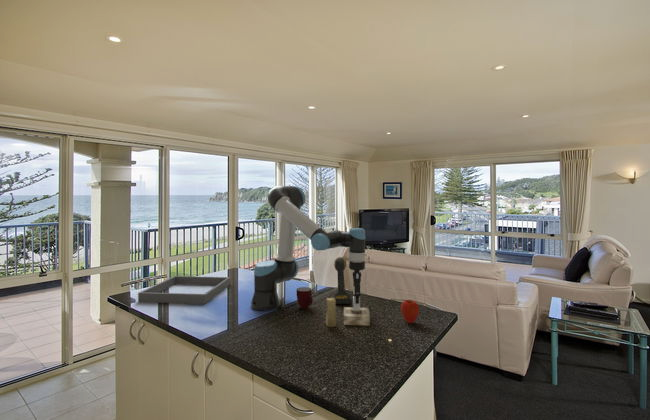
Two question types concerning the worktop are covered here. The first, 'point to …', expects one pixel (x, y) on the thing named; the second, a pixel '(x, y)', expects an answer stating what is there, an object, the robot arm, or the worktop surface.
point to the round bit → (355, 310)
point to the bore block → (356, 317)
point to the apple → (409, 310)
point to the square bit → (330, 312)
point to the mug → (304, 297)
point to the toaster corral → (155, 296)
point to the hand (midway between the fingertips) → (356, 305)
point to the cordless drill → (341, 282)
